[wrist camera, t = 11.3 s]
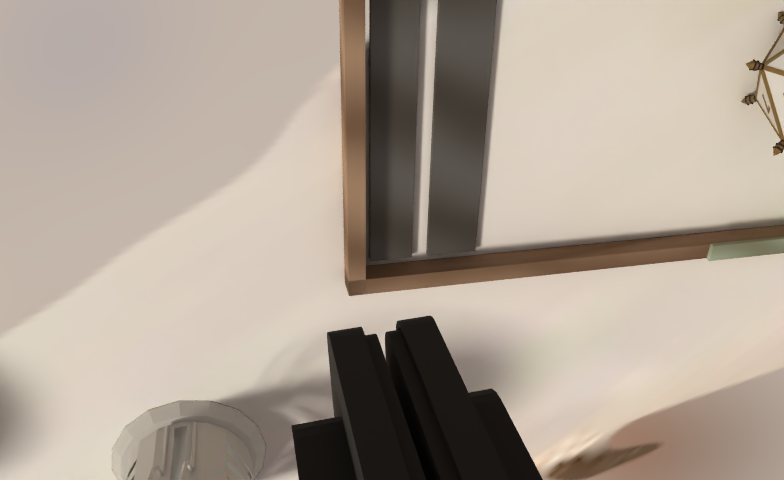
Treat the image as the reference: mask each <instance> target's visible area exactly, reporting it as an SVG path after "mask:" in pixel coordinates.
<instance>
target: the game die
mask: <svg viewBox="0 0 784 480" xmlns="http://www.w3.org/2000/svg"><path fill="white" fill-rule="evenodd" d="M778 21H780V24H784V13H781V12H779V14H778ZM746 65H747V66H748V67H749V70H753V71H756V70H759V76H758V83H757V89H756V95H755V96H753V95H749V96H745V98H744V99H743V100H742V101H741V102H743V103H745V104H747V105H749V104H753V103H754V102H755V101H757V103H758V104H759V106H760V107H761V109H762V111H763V112H764V114H765V115H766V117H767V119H768V120H769V122H770V123H771V125H772V127H773V128H774V130H775V131H776V133H777V135H778V136H779V138H780V139H781V141H780V142H779V143H776V145H775V147H773V148H774V155H777V154H779V153H782V152H783V149H784V28H783V30H782V31H781V33H780V35H779V36H778V38H777V40H776V41H775V43H774V44H773V46H772V48H771V49H770V51H769V53H768V54H767V56H766V58H765V59H764V61H763V62H762V63H760V62H759V61H755V60H753V61H751V62H749V63H747V64H746Z"/></svg>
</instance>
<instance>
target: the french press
mask: <svg viewBox="0 0 784 480" xmlns="http://www.w3.org/2000/svg"><path fill="white" fill-rule="evenodd" d="M265 449H266V444H265V442H264V440H263V437H262V435H261V432H260V430H259V428H258V426H257V425H256V424H255V423H254V422H253V421H251V420H250V419H249V418H248V417H247V416H245V415H244V414H243V413H242V412H240V411H239V410H237V409H234V408H231V407H228V406H225V405H222V404H219V403H216V402H212V401H177V402H174V403H170V404H167V405H164V406H160V407H157V408H154V409H150V410H148V411H147V412H145V413H144V414H142V415H141V416H140V417H138V418H137V419H135V420H134V421H132V422H131V423H130V424H128V425H127V426H125V428H124V429H123V431H122V433H121V434H120V436H119V438H118V439H117V441H116V443H115V444H114V446H113V448H112V471H113V473H114V474H115V476H116V478H117V479H118V480H254V479H255V477H256V476H257V474H258V473H259V472H260V470H261V469H262V467H263V464H264V457H265Z"/></svg>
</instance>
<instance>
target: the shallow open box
mask: <svg viewBox="0 0 784 480" xmlns="http://www.w3.org/2000/svg"><path fill="white" fill-rule="evenodd" d="M496 3H497V0H438V14H437V35H436V57H435V78H434V100H433V122H432V143H431V165H430V187H429V208H428V230H427V252H426V253H427V255H438V254H448V253H458V252H469V251H475V248H476V237H477V225H478V213H479V202H480V190H481V178H482V167H483V155H484V143H485V132H486V120H487V108H488V97H489V85H490V73H491V61H492V50H493V38H494V26H495V15H496ZM339 6H340V8H339V12H340V61H341V110H342V159H343V209H344V258H345V284H346V287H347V291H348V294H349V296H353V295H362V294H372V293H381V292H391V291H400V290H409V289H419V288H428V287H438V286H447V285H456V284H466V283H475V282H485V281H494V280H504V279H513V278H522V277H532V276H541V275H551V274H560V273H570V272H579V271H588V270H598V269H607V268H617V267H626V266H636V265H645V264H654V263H664V262H673V261H683V260H692V259H702V258H707V259H708V260H709V261H713V260H723V259H732V258H741V257H751V256H760V255H769V254H779V253H784V225H780V226H770V227H760V228H749V229H739V230H729V231H719V232H709V233H698V234H688V235H678V236H668V237H657V238H647V239H637V240H627V241H617V242H606V243H596V244H586V245H576V246H566V247H555V248H545V249H535V250H525V251H514V252H504V253H494V254H484V255H474V256H463V257H453V258H443V259H433V260H423V261H412V262H402V263H392V264H382V265H371V266H366V164H365V0H339ZM419 25H420V0H370V261H375V260H386V259H396V258H406V257H412V229H413V200H414V171H415V142H416V113H417V84H418V54H419Z"/></svg>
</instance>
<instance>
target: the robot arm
mask: <svg viewBox="0 0 784 480" xmlns="http://www.w3.org/2000/svg"><path fill="white" fill-rule="evenodd" d="M327 341H328V353H329V364H330V374H331V385H332V396H333V407H334V418H330V419H324V420H319V421H314V422H308V423H303V424H297V425H292V432H293V439H294V447H295V454H296V461H297V468H298V476H299V480H543V479H542V477H541V475H540V474H539V472H538V470H537V468H536V466H535V464H534V462H533V460H532V458H531V456H530V454H529V452H528V451H527V449H526V447H525V445H524V443H523V441H522V439H521V437H520V435H519V433H518V431H517V429H516V428H515V426H514V424H513V422H512V420H511V418H510V416H509V414H508V412H507V410H506V408H505V406H504V405H503V403H502V401H501V399H500V397H499V396H498V394H497V393H496V392H495V391H494V390H493V389H487V390H482V391H476V392H471V393H468V391H467V389H466V386H465V384H464V382H463V380H462V378H461V376H460V374H459V372H458V369H457V367H456V365H455V363H454V361H453V359H452V357H451V354H450V352H449V350H448V348H447V346H446V344H445V342H444V340H443V337H442V335H441V333H440V331H439V329H438V327H437V325H436V323H435V320H434V319H433V317H432V316H425V317H419V318H413V319H406V320H400V321H397V324H396V330H395V331H389V332H386V334H385V349H386V360H385V357H384V354H383V351H382V348H381V345H380V342H379V339H378V337H377V335H376V334H371V335H365V334H364V331H363V329H362V327H357V328H351V329H344V330H338V331H332V332H328V333H327Z"/></svg>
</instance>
